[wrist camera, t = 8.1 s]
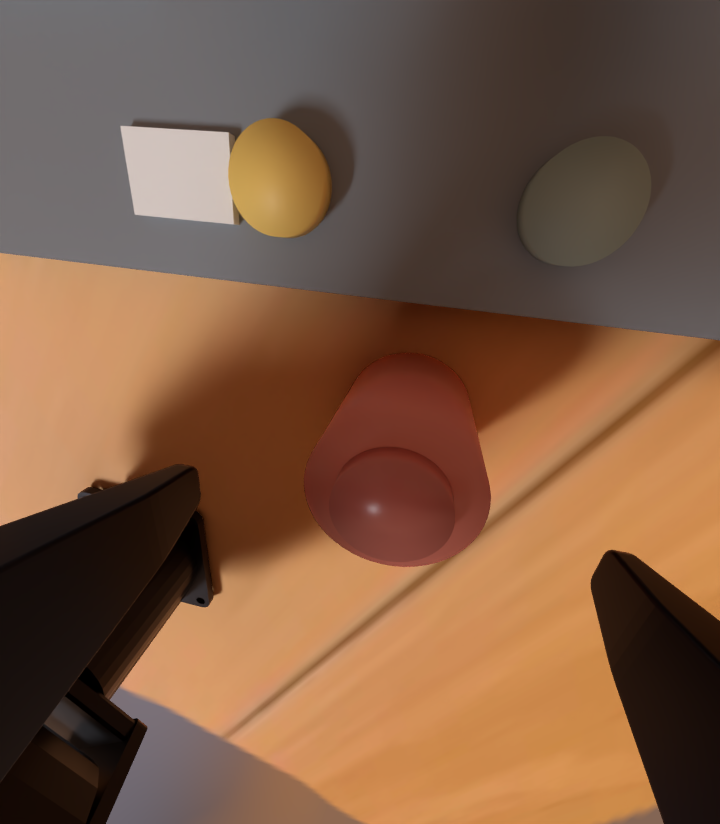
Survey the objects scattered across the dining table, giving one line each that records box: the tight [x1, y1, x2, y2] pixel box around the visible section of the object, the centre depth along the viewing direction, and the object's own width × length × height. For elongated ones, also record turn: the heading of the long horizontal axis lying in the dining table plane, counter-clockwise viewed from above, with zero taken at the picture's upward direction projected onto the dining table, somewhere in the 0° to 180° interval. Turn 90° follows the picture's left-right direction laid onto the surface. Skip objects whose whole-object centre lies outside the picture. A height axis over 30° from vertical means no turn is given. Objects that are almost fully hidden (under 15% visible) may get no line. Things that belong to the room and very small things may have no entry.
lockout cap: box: [304, 353, 491, 567], centre depth 10 cm, size 4×4×6 cm
